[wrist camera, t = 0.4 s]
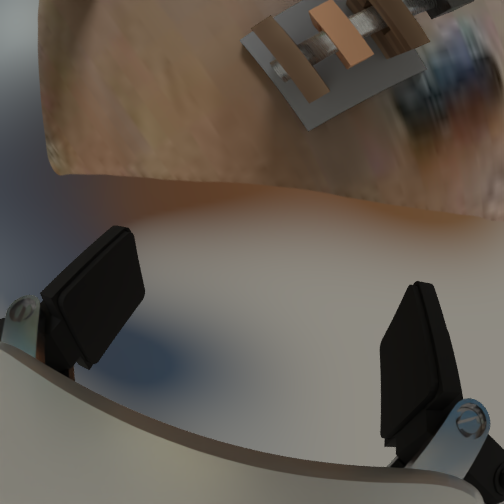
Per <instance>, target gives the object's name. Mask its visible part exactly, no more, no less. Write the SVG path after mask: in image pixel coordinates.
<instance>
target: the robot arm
mask: <svg viewBox="0 0 504 504" xmlns="http://www.w3.org/2000/svg"><path fill="white" fill-rule="evenodd" d="M40 294H41V296H42V299H43V301H42V302H41V303H40V301H39V300H38V298H37V297H35V296H32V295H26V296H23V297H20V298H18V299H17V300H15V301H14V302H13V303H12V304H11V305H10V307H9V308H8V310H7V312H6V316H5V318H2V319H0V504H504V449H502V447H501V446H500V445H499V444H498V443H497V442H495V440H494V439H493V438H491V436H490V435H489V434H488V433H489V430H490V417H489V414H488V412H487V410H486V408H485V407H484V406H483V405H482V404H481V403H480V402H478V401H477V400H475V399H471V398H467V399H463V396H462V389H461V384H460V379H459V374H458V369H457V365H456V360H455V356H454V352H453V348H452V344H451V340H450V336H449V332H448V330H447V327H446V324H445V321H444V317H443V314H442V310H441V307H440V304H439V301H438V297H437V294H436V292H435V288H434V286H433V285H432V284H430V283H424V282H419V281H416V282H415V283H414V284H413V285H409V286H408V288H407V290H406V292H405V295H404V297H403V299H402V301H401V303H400V305H399V307H398V309H397V311H396V314H395V316H394V318H393V320H392V322H391V324H390V326H389V328H388V330H387V331H386V333H385V335H384V337H383V339H382V341H381V345H380V368H381V431H380V433H381V437H382V438H385V447H396V455H397V456H396V457H395V458H394V459H393V460H392V462H391V463H390V464H389V465H388V466H387V467H370V466H355V465H344V464H334V463H326V462H318V461H310V460H303V459H297V458H291V457H285V456H280V455H275V454H270V453H265V452H260V451H255V450H252V449H247V448H243V447H239V446H235V445H232V444H228V443H224V442H220V441H217V440H214V439H210V438H207V437H203V436H200V435H197V434H194V433H191V432H188V431H185V430H182V429H179V428H177V427H174V426H171V425H168V424H166V423H163V422H160V421H158V420H155V419H153V418H150V417H148V416H145V415H143V414H141V413H138V412H136V411H133V410H131V409H129V408H127V407H125V406H122V405H120V404H118V403H116V402H114V401H112V400H109V399H107V398H105V397H103V396H101V395H99V394H97V393H95V392H93V391H91V390H89V389H88V388H86V387H84V386H82V385H80V384H78V383H76V382H75V375H74V364H75V363H76V361H77V363H78V364H79V365H81V366H82V367H84V368H86V369H88V370H90V368H91V367H92V365H93V364H95V363H97V362H98V361H99V360H100V358H101V357H102V356H103V354H104V353H105V351H106V350H107V348H108V347H109V345H110V344H111V343H112V341H113V340H114V338H115V337H116V336H117V334H118V333H119V331H120V330H121V329H122V327H123V326H124V324H125V323H126V322H127V320H128V319H129V318H130V316H131V315H132V313H133V312H134V311H135V309H136V308H137V307H138V305H139V304H140V303H141V301H142V300H143V298H144V295H145V288H144V284H143V279H142V274H141V270H140V265H139V260H138V255H137V250H136V244H135V239H134V235H133V233H131V231H130V229H129V228H126V227H121V226H112V227H111V228H110V229H109V230H107V231H106V232H105V233H104V234H103V235H102V236H101V237H99V238H98V239H97V240H96V241H95V242H94V243H93V244H91V245H90V246H89V247H88V248H87V249H86V250H85V251H84V252H83V253H81V254H80V255H79V256H78V257H77V258H76V259H75V260H74V261H73V262H72V263H71V264H69V265H68V267H66V268H65V269H64V270H63V271H62V272H61V273H60V274H59V275H58V276H57V277H56V278H55V279H54V280H53V281H52V282H51V283H50V284H49V285H48V286H47V287H46V288H45V289H44V290H43V291H42V292H41V293H40Z"/></svg>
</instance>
